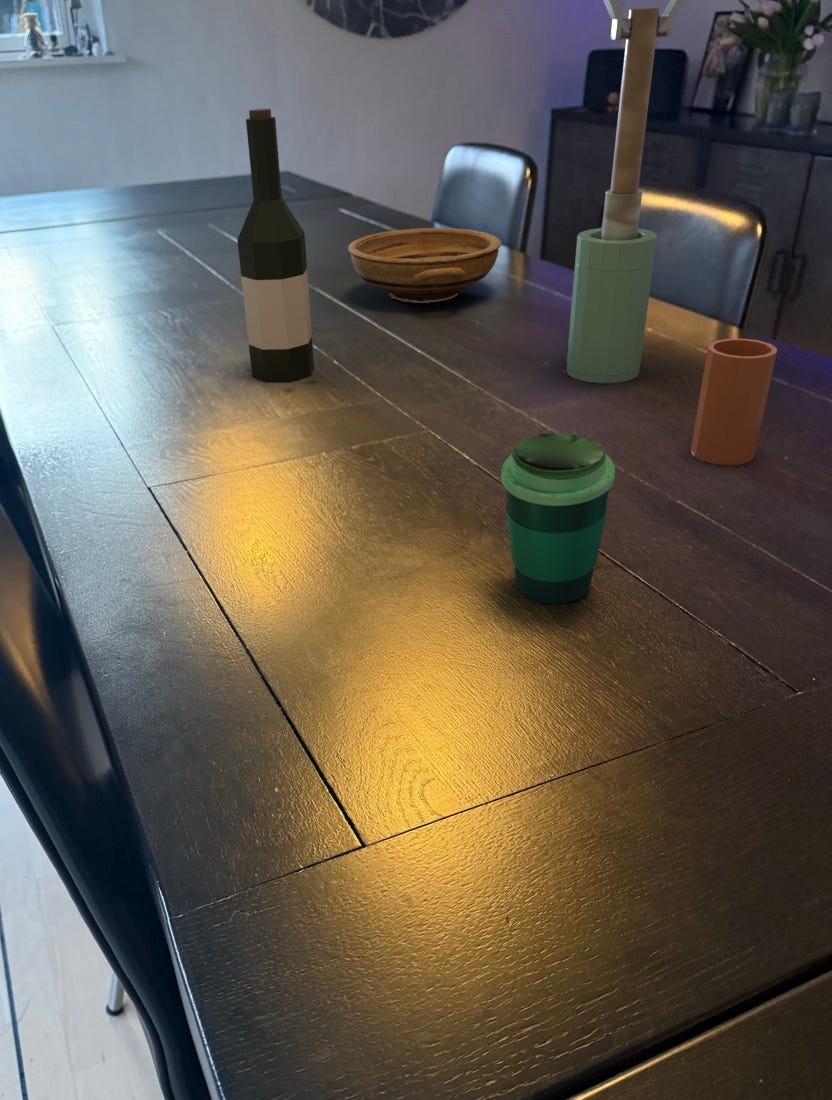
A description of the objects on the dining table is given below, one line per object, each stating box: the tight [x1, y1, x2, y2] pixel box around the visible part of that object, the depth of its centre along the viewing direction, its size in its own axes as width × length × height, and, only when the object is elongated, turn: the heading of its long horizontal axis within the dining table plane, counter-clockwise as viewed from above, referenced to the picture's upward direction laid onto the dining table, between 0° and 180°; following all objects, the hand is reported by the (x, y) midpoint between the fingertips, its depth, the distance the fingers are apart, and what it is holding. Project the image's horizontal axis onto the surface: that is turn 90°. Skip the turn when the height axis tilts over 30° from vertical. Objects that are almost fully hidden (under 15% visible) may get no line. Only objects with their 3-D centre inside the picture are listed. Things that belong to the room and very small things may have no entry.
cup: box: [500, 432, 616, 605], centre depth 70 cm, size 8×8×12 cm
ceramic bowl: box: [347, 227, 502, 301], centre depth 149 cm, size 30×24×8 cm
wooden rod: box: [601, 7, 661, 241], centre depth 100 cm, size 4×4×22 cm
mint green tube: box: [566, 227, 658, 384], centre depth 111 cm, size 9×9×16 cm
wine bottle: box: [236, 108, 315, 383], centre depth 113 cm, size 8×8×30 cm
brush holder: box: [690, 338, 778, 466], centre depth 90 cm, size 6×6×11 cm
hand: (640, 38), depth 96 cm, fingers closed on wooden rod, 3 cm apart
